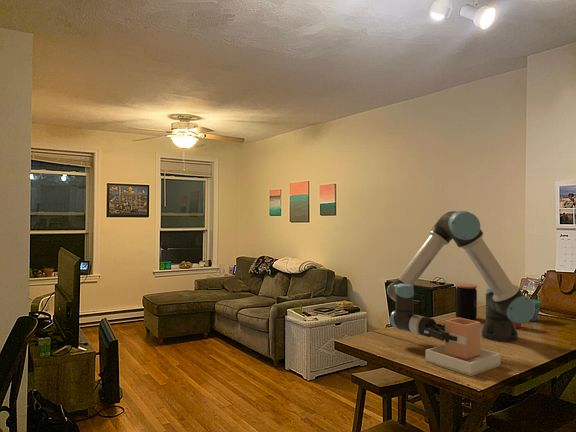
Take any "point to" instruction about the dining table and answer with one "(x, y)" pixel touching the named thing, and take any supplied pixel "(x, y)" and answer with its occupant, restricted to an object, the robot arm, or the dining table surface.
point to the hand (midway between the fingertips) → (473, 338)
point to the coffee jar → (466, 301)
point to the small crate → (467, 330)
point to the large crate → (465, 367)
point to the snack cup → (536, 310)
